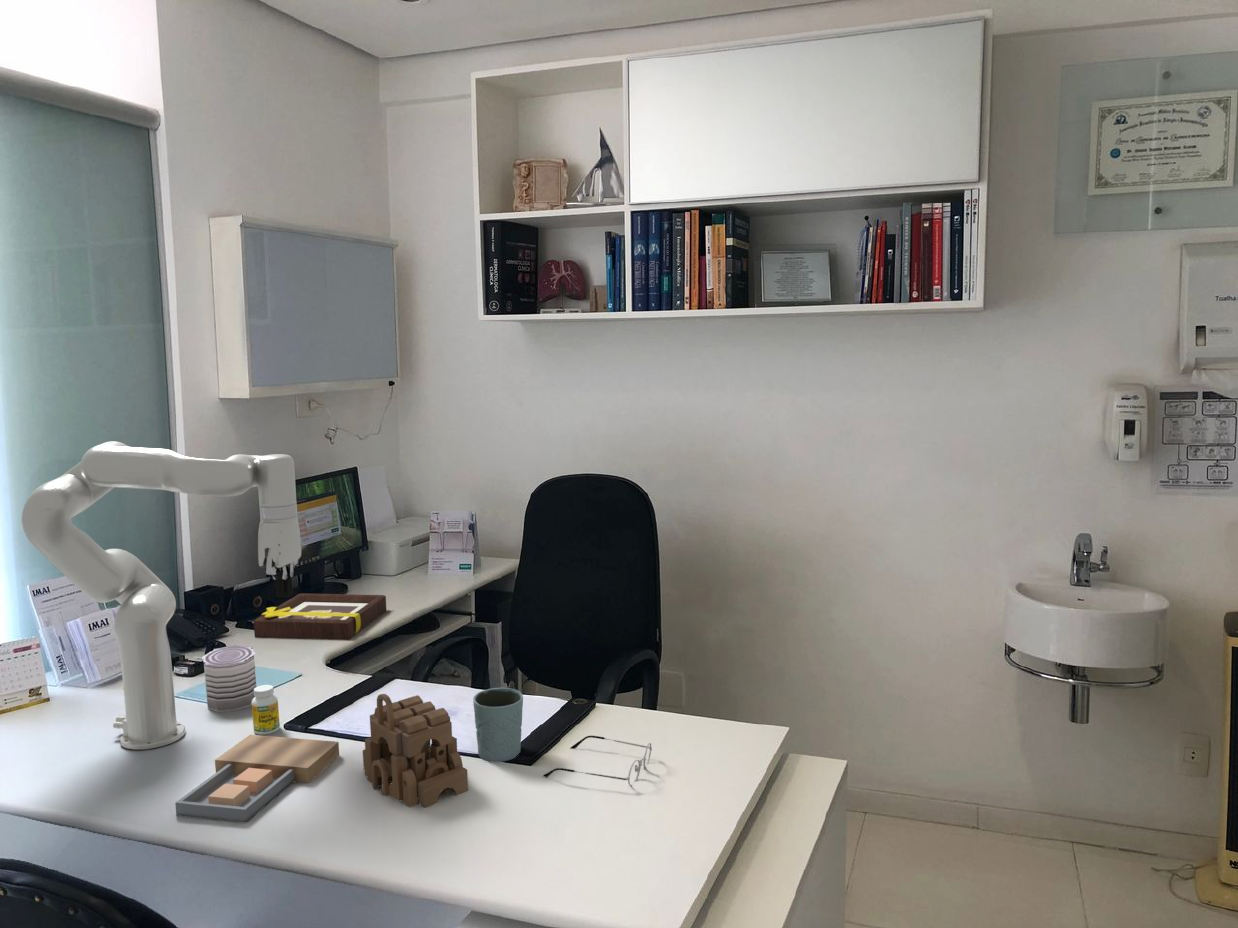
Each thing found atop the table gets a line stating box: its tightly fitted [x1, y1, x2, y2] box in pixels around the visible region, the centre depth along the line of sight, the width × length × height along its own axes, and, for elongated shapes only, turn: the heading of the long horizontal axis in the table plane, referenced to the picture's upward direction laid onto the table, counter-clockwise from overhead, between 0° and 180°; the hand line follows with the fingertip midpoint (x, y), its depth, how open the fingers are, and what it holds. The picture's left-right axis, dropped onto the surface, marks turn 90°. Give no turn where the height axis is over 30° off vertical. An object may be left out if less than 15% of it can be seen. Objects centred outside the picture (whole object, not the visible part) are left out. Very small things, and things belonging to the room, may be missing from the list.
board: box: [214, 734, 340, 784], centre depth 195 cm, size 20×12×3 cm, turn 78°
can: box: [201, 644, 257, 713], centre depth 228 cm, size 11×11×12 cm
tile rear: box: [233, 768, 273, 793], centre depth 186 cm, size 5×5×2 cm
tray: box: [174, 764, 296, 824], centre depth 182 cm, size 14×16×2 cm
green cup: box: [472, 687, 524, 763], centre depth 198 cm, size 10×10×12 cm
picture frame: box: [253, 593, 387, 641], centre depth 289 cm, size 28×7×30 cm
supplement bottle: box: [251, 684, 281, 736], centre depth 212 cm, size 5×5×10 cm
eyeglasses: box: [543, 735, 653, 787], centre depth 191 cm, size 16×19×5 cm
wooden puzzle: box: [362, 693, 469, 808], centre depth 187 cm, size 22×15×19 cm, turn 43°
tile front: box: [208, 784, 250, 806], centre depth 179 cm, size 5×5×2 cm
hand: (284, 595), depth 212 cm, fingers closed
